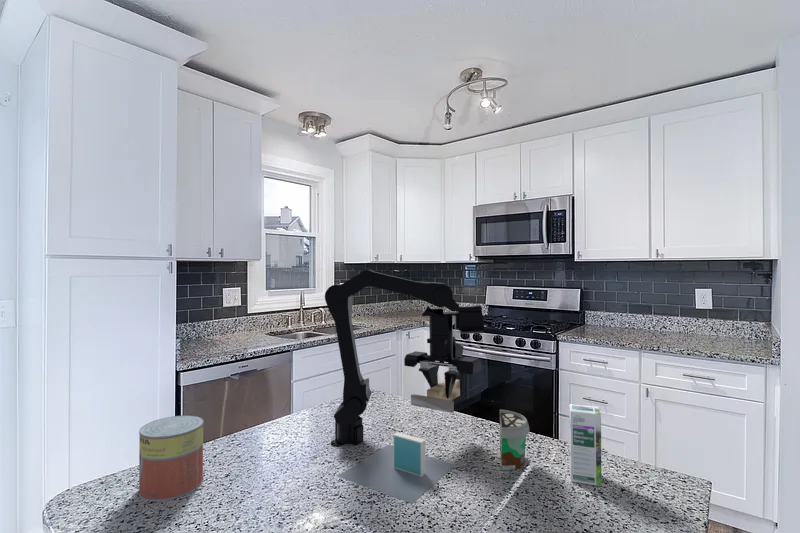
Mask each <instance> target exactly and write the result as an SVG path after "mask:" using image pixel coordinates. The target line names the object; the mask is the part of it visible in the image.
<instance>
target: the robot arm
mask: <svg viewBox="0 0 800 533" xmlns="http://www.w3.org/2000/svg"><path fill="white" fill-rule="evenodd" d="M367 287H373V288H377V289H382V290H385V291H389V292H390V291H391V292H394V293H399V294H402V295H403V294H404V295H407V296H411V297H414V298H417V299H419V300H421V301H423V302H426V303H428V304H430V305H432V306H434V307H438V308H431V307H430V306H429V305H426V307H425V309H423V311H422V312H421V316H422V317H428V319H429V320H428V321H429V322H428V323H429V325H428V326H429V328H428V329H429V338H426V343H427V344H429V354H428V352H425V351H418V350H417V351H416V350H415V351H413V352H409V353H407V354H406V355H405V356H404V359H403V360H404V363H403V365H404V366H405V367H412V368H415V367H416V366H417V365H418V364H419V365H420V366H419V368H418V372H421V374H422V375H423V376H424V378H425V380H426V381H427V383H428V385H429V389H430V388H432V387H434V386H436V385H437V384H439V379H438V378H439V377H438V376H439V375H438V374H439V369H440V367H447V368H448V370H447V371H445V372H444V381H445V389H446V397H447V399H449V398H450V396H451V393H452V390H453V387H454V384H455V381H456V379H457V380H458V377H459V375H460V374H464V375H474V374H476V373H478V372H479V371H482V361H481V360H480V359H479V357H471V356H463V353H464V345H462V344H460V343H456V342H457V339H456V337H455V336H454V334H453V333H454V332H453V330H458V331H459V334H463V335H464V334H483V333H484V331H485V320H484V315H483V314H484V313H483V309H482V308H483V307H482V305H480V304H479V305H477V304H476V305H470V306H469V305H468V306H467V305H466V306H463V305H461V306H460V304H459V303H458V301H457V302H456V301H455V299H454V298H453V295H454V294H453V290H452V288H451V287H450V286H449V285H447V284H446V283H443V282H432V281H415V280H411V279H406V278H403V277H398V276H394V275H389V274H386V273H381V272H377V271H374V270H373V269H364V270H362V271H361V272H359V274H356V275H355V276H353V277H352V278H350V279H348V280H346V281H345V282H343V283H337V284H334V285H333V284H332V285H331V286H329V287H328V288H327V289H326V291H325V293H324V300H325V301H324V302H325V303H326V307H327V310H328V311H329V313H330V315H331V318H332V320H333V321H334V325H335V331H336V332H335V333H336V338H337V342H338V349H339V353H340V354H339V355H340V361H341V366H342V367H341V368H342V372H343V377H344V380H343V390H342V391H343V392H342V402H341V403H339V406H338V407H337V409H336V411H335V413H334V415H333V418H334V435H335V436H334V439H332V440H331V441H330V444H331V445H333V446H336V447H342V446H345V445H353V446H355V445H356V446H358V445H359V444H361V443H363V442H364V425H363V417H361V416H360V415H362V414H363V413H364V412H365V411H366V409H367V406H368V404H369V401H370V399H371V396H372V393H373V392H372V390H371V388H370V378H369V377H368V378H365V379H364V377H363V375H362V373H361V370H360V362H359V356H358V352H357V350H358V349H357V345H356V344H357V343H356V338H355V333H354V328H353V321H352V314H353V296H355V295H357V294H358V293H359V292H361V291H363V290H365V288H367ZM444 308H446V309H447V310H449V312H448V311H447V312H445V311H444ZM453 316H454V327H453ZM453 328H454V329H453Z"/></svg>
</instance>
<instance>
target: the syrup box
mask: <svg viewBox="0 0 800 533" xmlns="http://www.w3.org/2000/svg"><path fill="white" fill-rule="evenodd" d="M568 408H569V409H568V410H569V414H568V416H569V474H570V481H571V483H579V484H583V485H590V486H596V487H599V488H600V487H602V483H603V482H602V481H603V480H602V415H601V414H602V413H601V411H600V408H599V406H598V405H597V406H596V405H593V406H592V405H583V404H575V403H570V404H569V406H568Z"/></svg>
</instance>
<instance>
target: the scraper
mask: <svg viewBox="0 0 800 533" xmlns="http://www.w3.org/2000/svg"><path fill="white" fill-rule="evenodd" d="M460 381H461V380H460V379H458V378H457V379H456V381H455V384H454V387H453V390H452V393H451V396H450V398H449V399H447V397H446V389H445V380H443V381H441V382H440V383H439V382H438V384H437V385H436V386H434V387H432V388H430V387H429V388H428V389H426V395H421V394H415V393H411V394H410V405H411V406H413V407H418V408H425V409H430V410H435V411H440V412H445V413H450V414H453V413H454V412H455V409H454V408H455V407H454V406H455V405H454V403H455V402H454V400H455V399H456V398H458V397H460V396H461V383H460Z"/></svg>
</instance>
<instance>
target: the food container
mask: <svg viewBox="0 0 800 533" xmlns="http://www.w3.org/2000/svg"><path fill="white" fill-rule="evenodd" d="M529 433H530V426H529V422H528V419H527V418H526V417H525V416H524V415H522V414H521V413H518V412H517V411H516V412H515V411H511V410H507V409H499V451H500V452H499V453H500V463H501V470H505V471H509V470H516V469H519V468H521V467H523V466H524V464H525V455H526V442H527V435H528V434H529Z"/></svg>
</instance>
